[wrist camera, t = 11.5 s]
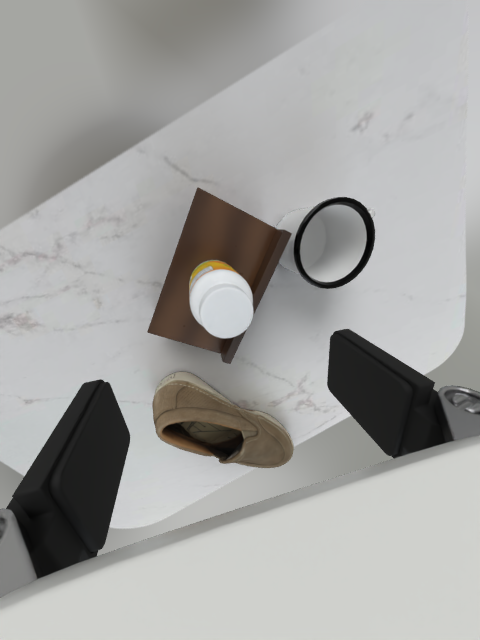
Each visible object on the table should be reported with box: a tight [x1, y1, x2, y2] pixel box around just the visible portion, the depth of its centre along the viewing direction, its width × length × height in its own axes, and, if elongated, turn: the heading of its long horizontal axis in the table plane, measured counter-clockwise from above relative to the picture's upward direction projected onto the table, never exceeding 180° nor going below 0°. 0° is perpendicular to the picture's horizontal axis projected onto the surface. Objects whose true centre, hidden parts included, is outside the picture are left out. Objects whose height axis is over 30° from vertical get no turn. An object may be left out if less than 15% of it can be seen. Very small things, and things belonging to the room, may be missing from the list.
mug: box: [276, 197, 375, 289], centre depth 29 cm, size 12×10×9 cm
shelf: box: [148, 188, 292, 364], centre depth 28 cm, size 10×16×9 cm, turn 156°
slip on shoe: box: [153, 372, 294, 468], centre depth 38 cm, size 30×11×9 cm, turn 43°
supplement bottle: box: [189, 260, 253, 338], centre depth 21 cm, size 5×5×10 cm
